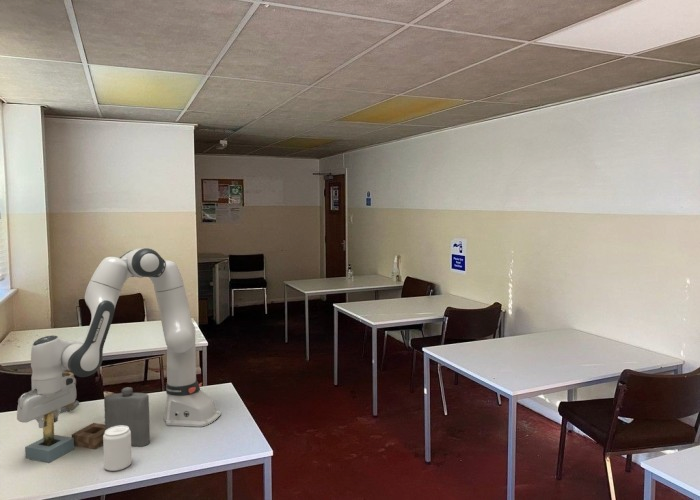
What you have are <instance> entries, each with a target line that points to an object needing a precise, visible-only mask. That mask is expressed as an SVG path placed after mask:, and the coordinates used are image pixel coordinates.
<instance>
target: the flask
mask: <svg viewBox="0 0 700 500" xmlns="http://www.w3.org/2000/svg"><path fill="white" fill-rule="evenodd" d="M133 391H134V390H133V387H131V386H130V387H129V386H126V387H123V388H122V389H121V392H119V393H111V394H107V395H106V396H104V397H103V399H104V400H103V402H104V405H103V407H104V424H105V431H106V430H107V429H108V428H111V427H114V426H119V425H124V426H128V427H129V429H130V431H131V447H139V448H140V447H145V446H147V445H149V444H150V443H151V436H150V435H151V433H150V399H149V398H150V397H149V396H150V395H149V394H148V393H144V392H133Z"/></svg>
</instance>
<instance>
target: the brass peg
mask: <svg viewBox="0 0 700 500" xmlns="http://www.w3.org/2000/svg"><path fill="white" fill-rule="evenodd" d="M43 416H44V418H43V419H42V420H43V421H44V422H46V425H47V426H46V427H44V428H42V435H43V437H42V438H43V443H44V446H51V445H53V444H55V441H54V435H55V423H54V411H52V412H50V413H48V414H45V415H43Z"/></svg>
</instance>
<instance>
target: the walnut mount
mask: <svg viewBox="0 0 700 500" xmlns="http://www.w3.org/2000/svg"><path fill="white" fill-rule="evenodd" d="M104 434H105V423H104V424H102V423H97V422H92V423H91V424H89V425H87V426H85V427H83V428H81V429H79V430H78V431H75V432H73V433H72V434H71V438H74V447H80V448H86V449H92V450H97V449H98V448H100V447H101V446H103V435H104Z"/></svg>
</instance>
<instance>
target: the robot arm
mask: <svg viewBox="0 0 700 500" xmlns="http://www.w3.org/2000/svg"><path fill="white" fill-rule="evenodd" d="M129 278H140V279H141V278H142V279H143V278H149V279H150V280H151V282H152V285H153V289H154V294H155V297H156V301H157V305H158V309H159V314H160V316H159V317H160V321H161V328H162V332H163V337H164V341H165V345H166V379H167V380H166V381H167V382H166V383H165V391H166V405H165V410H164V415H163V420H164V421H165V425H166V426H179V427H180V426H181V427H202V428H203V427H205V426H209V425H211V424H212V422H213V421H214V422H216V421H217V420H218V419H219V418H220V417H221V416H222V411H220V410H217V409H216V407H215V402H214V400H213V398H211V397H210V396H208V395H207V394H206V393H205V392H203V390H201V388H200V387H201V386H203V385H202V384H203V382H200V383H199V382H198V380H197V368H196V367H197V365H196V364H197V361H196V360H197V358H196V351H197V350H196V348H197V347H196V328H195V327H196V326H195V324H194V323H193V321H192V316H191V311H190V306H189V301H188V297H187V292H186V289H185V288H186V287H185V284H184V280H183V277H182V274H181V271H180V269H179V267H178V265H177V263H176V262H174V261H173V260H169V259H168V260H166V259H164V258H163V257H162V256H161V255H160V254H159V253H158V252H157V251H156V250H155V249H152V248H147V247H146V248H143V247H140V248H139V247H138V248H135V249H132V250H131V249H130V250H129V251H127V252H125V253H123V255H121V256H120V257H117V256H106V257H104V258H103V259H102V260H101V262H100V263H99V265H98V266H97V268H96V269H95V270H94V272H93V274H92V276H91V278H90V280H89V282H88V285H87V287H86V289H85V293H84V301H85V304H86V306H87V307H88V309H89V311H90V314H91V317H90V318H91V320H90V324H89V326H88V329H87V332H86V335H85V336H84V337H85V338H84V340H83V342H81V341H76V340H68V339H64V338H62V337H59V336H57V335H45V336H42V337H41V338H38V339H37V340H36V339H35V341H33V344H32V345H31V350H30V351H31V352H30V367H31V370H32V374H31V381H30V382H31V390H29V391H28V392H24V393H22V394H21V395H20V396H19V398H18V400H17V403H18V404H17V410H16V411H17V412H16V419H17V421H18V422H20V423H26V424H27V423H29V422H32V421H33V420H35V421H36V422H37V423H38V428H39V429H43V428H44V427H46V426H47V425H46V422H44V421H43V418H44V416H43V415H45V414H48V413H50V412H52V411H54V424H55V423H57V422H58V421H59V416H60V414H61V413H60V411H61V407H64V406H66V405H68V404H70V403H73V402H74V401H75V400H76V399H77V395H76V392H77V388H76V385H75V384H73V383H75V379H76V378H75V376H76V377H80V378H85V377H86V378H87V377H90V376H92V375H94V374H95V373H97V371H99V369H100V368H101V366H102V364H103V354H104V353H103V351H104V345H105V343H106V340H107V337H108V335H109V331H110V328H111V324H112V322H113V319H114V317H115V316H114V315H115V310H116V305H117V302H118V300H119V297H120V295H121V292H122V291H123V289H124V288H123V287H124V285H125V283H126V282H127V280H129ZM67 370H68V371H69V372H71V373H73V374H74V377H70V376H62V372H65V371H67ZM220 415H221V416H220ZM219 416H220V417H219ZM218 417H219V418H218ZM217 418H218V419H217ZM216 419H217V420H216ZM215 420H216V421H215ZM214 422H213V423H214ZM210 423H211V424H210ZM208 424H209V425H208Z"/></svg>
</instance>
